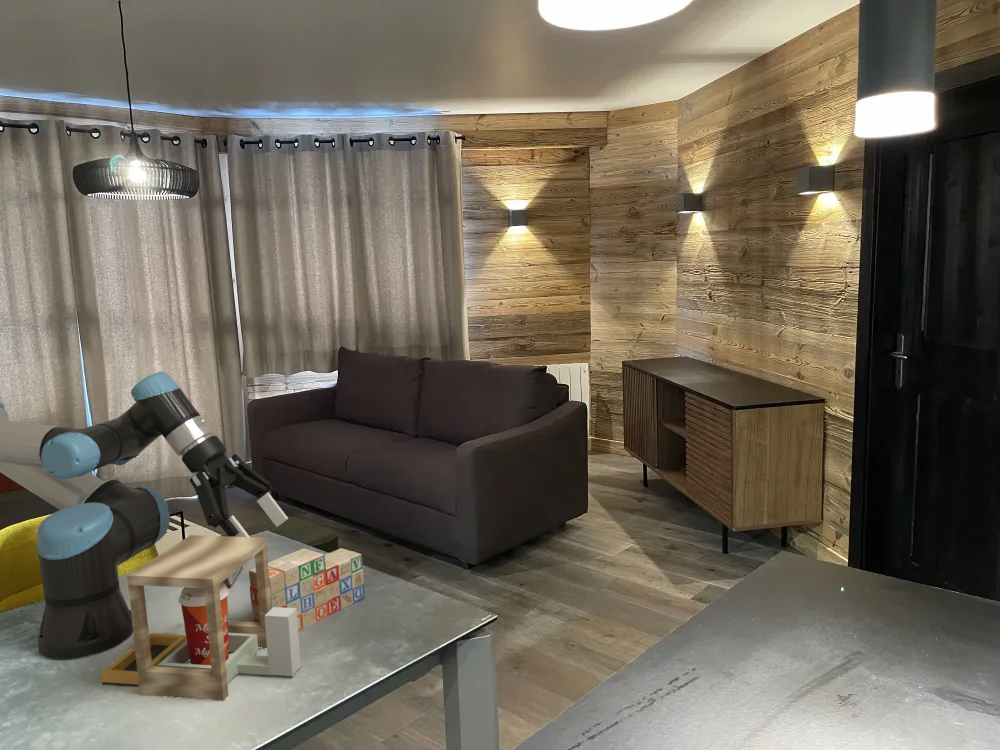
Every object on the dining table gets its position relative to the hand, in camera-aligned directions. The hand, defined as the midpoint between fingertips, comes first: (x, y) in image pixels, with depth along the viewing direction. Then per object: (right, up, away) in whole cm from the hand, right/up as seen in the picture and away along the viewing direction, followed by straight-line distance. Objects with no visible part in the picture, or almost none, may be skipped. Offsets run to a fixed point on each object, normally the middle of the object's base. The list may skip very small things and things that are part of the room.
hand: (266, 535), depth 140 cm
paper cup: (-4, -18, -17) cm, 26 cm away
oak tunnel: (-4, -18, -17) cm, 25 cm away
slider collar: (+1, -18, -18) cm, 26 cm away
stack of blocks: (+8, -15, +1) cm, 18 cm away
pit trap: (-15, -18, -16) cm, 28 cm away
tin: (-13, -13, +18) cm, 26 cm away
